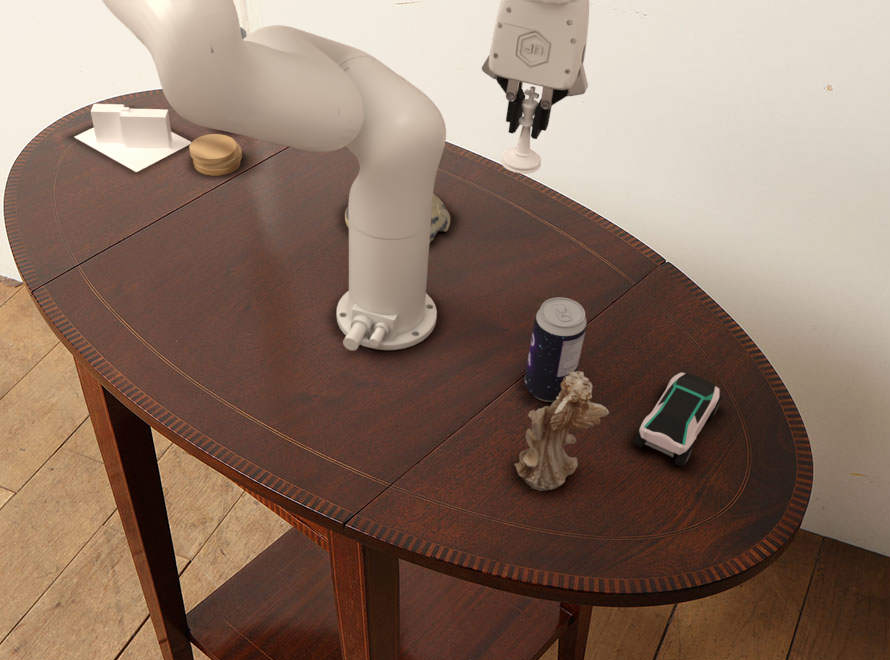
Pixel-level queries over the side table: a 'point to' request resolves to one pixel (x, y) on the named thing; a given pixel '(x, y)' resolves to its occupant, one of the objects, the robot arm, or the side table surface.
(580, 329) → the beverage can
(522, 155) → the chess piece
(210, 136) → the chip pile
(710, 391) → the toy car
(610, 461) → the side table surface
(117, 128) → the napkin holder
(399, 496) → the side table surface
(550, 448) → the figurine
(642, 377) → the side table surface
